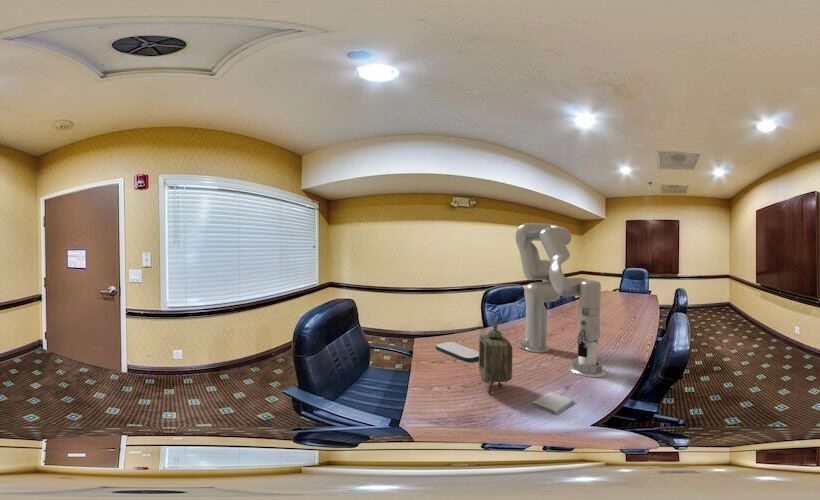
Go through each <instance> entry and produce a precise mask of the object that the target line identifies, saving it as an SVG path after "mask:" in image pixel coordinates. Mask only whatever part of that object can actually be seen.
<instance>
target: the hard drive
mask: <svg viewBox="0 0 820 500" xmlns="http://www.w3.org/2000/svg"><path fill="white" fill-rule="evenodd" d="M574 402H575V400H574V399H573V398H570V397H568V396H565V395H563V394H558V393H556V392H553V391H550V392H547V393H546V394H544V395H543V396H540V397H538V398H537V399H535V400H534V401H532V402H531V403H530V405H531V406H533V407H535V408H538V409H540V410H542V411H546V412H548V413H550V414H552V415H558V414H559V413H561V412H563V410H566V408H568V407H570V406H571V405H573V403H574Z"/></svg>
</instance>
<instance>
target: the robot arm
mask: <svg viewBox="0 0 820 500" xmlns="http://www.w3.org/2000/svg"><path fill="white" fill-rule="evenodd" d="M534 241H536V242H537V241H540V242H541V244H542V246H543V248H544V250H545V253H546V255H547V256H548V259H541V258H540V253H539V250H538V248H537V246H536V245H535V244H534V243H533V242H534ZM571 241H572V234H571V231H570V230H569V229H568V228H567V227H563V226H560V225H555V224H551V223H546V222H545V223H541V222H539V223H538V222H527V223H522V224H520V225H519V226H518V228H517V229H516V231H515V242H516V243H515V244H516V245H517V248H518V251H519V255H520V260H521V266H522V270H523V275H524V277H525V278H526V279H527V280H530V281H537V280H538V281H539V280H540V281H539V282H538V281H537V282H531V283H528V284H527V285H526V286H525V288H524V290H523V292H524V299H525V334H524V335H525V337H524V336H523V338H521V339H519V338H518V339H516V338H515V339H514V344H518V345H519V346H520V345H521V348H522V349H523V350H524V351H527V352H532V353H541V354H543V353H547V352H550V348H551V347H550V346H548V345H547V334H548V333H547V331H548V330H547V329H548V310H547V307H546V306H545V303H552V302H556V301H559V300H560V299H561V297H578V298H579V300H578V305H579V306H578V315H579V322H578V330H577V331H578V332H577V337H576V338H577V342H576V343H577V356H578V357H579V356H581V357H585V358H586V357H587V347H586V345H587V343H588V341H589V342H593V341H595V340H596V341H597V342H596V343H597V347H598V343H599V339H601V322H600V315H601V293H602V291H601V290H602V285H601V283H600V281H597V280H592V279H586V278H583V277H565V274H564V272H563V271H562V264H563V263H566V262H567V261H568V260H569V259H570V257H571V253H570V251H569V249H568V247H567V246H568V245H569V244H570V243H571ZM583 341H584V342H585V343H584V342H583Z"/></svg>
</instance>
